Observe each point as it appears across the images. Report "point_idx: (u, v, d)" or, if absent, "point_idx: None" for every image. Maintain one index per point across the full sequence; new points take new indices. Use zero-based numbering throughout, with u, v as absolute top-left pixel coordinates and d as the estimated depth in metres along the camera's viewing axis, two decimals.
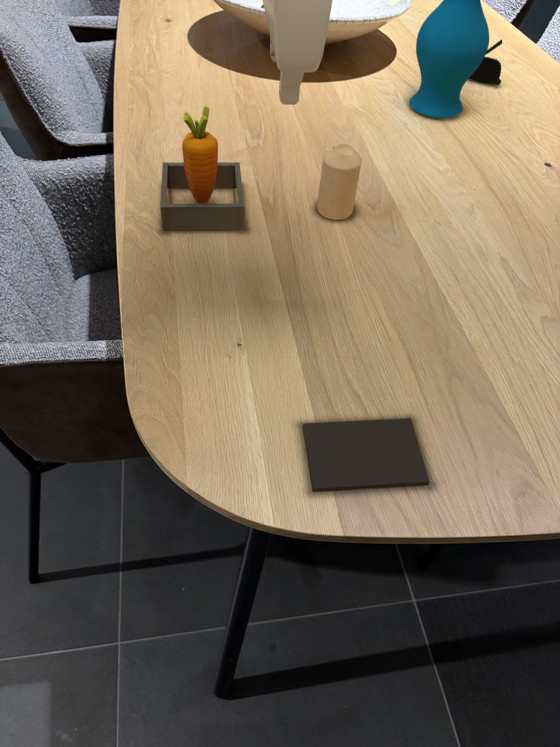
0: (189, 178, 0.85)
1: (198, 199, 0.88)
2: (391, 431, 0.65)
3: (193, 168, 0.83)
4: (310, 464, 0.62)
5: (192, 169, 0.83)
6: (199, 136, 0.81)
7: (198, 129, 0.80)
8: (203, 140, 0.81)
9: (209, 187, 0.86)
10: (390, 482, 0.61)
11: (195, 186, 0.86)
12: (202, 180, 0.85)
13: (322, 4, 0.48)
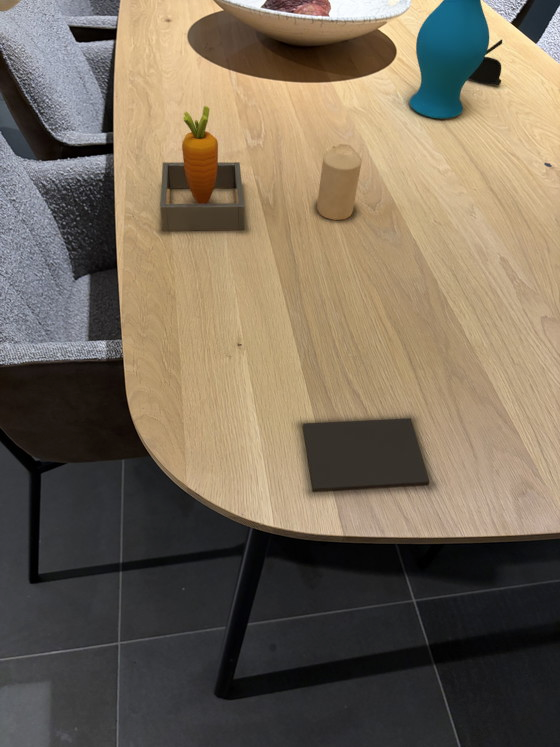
0: (189, 178, 0.85)
1: (198, 199, 0.88)
2: (391, 431, 0.65)
3: (193, 168, 0.83)
4: (310, 464, 0.62)
5: (192, 169, 0.83)
6: (199, 136, 0.81)
7: (198, 129, 0.80)
8: (203, 140, 0.81)
9: (209, 187, 0.86)
10: (390, 482, 0.61)
11: (195, 186, 0.86)
12: (202, 180, 0.85)
13: None
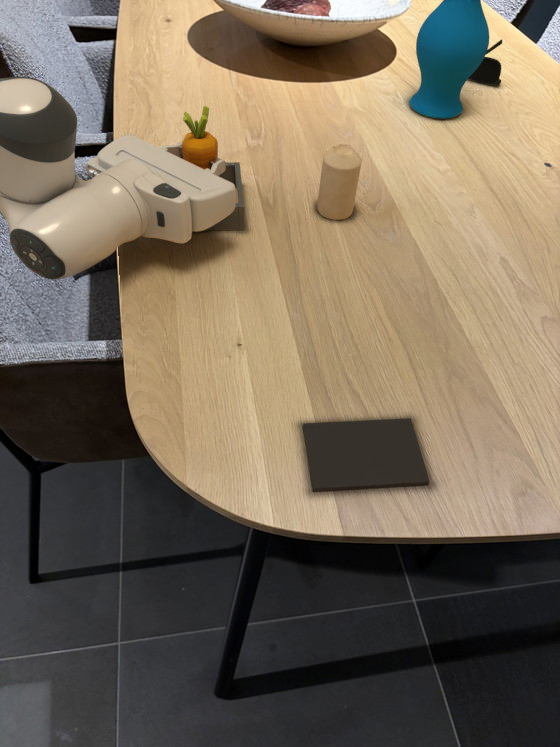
0: None
1: None
2: (391, 431, 0.65)
3: None
4: (310, 464, 0.62)
5: None
6: (199, 136, 0.81)
7: (198, 129, 0.80)
8: (203, 140, 0.81)
9: None
10: (390, 482, 0.61)
11: None
12: None
13: (209, 203, 0.75)
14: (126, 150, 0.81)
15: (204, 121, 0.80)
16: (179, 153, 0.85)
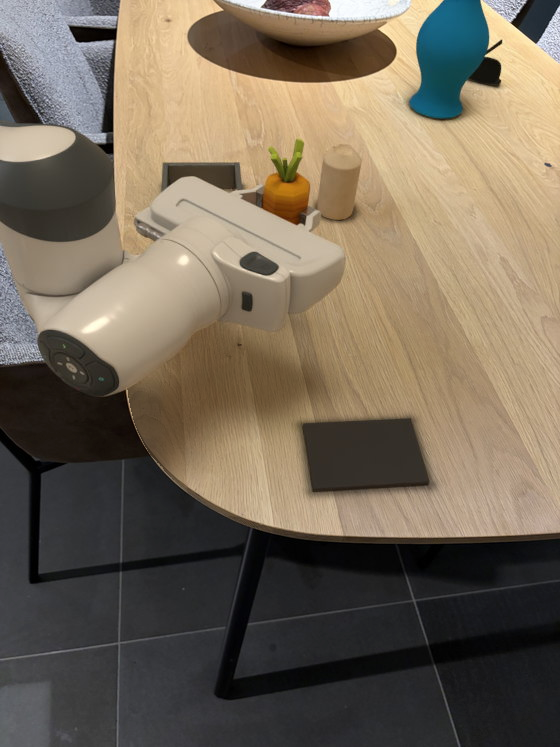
0: None
1: None
2: (391, 431, 0.65)
3: None
4: (310, 464, 0.62)
5: None
6: (288, 180, 0.60)
7: (288, 170, 0.59)
8: (293, 184, 0.60)
9: None
10: (390, 482, 0.61)
11: None
12: None
13: (314, 278, 0.53)
14: (188, 199, 0.59)
15: (298, 160, 0.58)
16: (255, 200, 0.64)
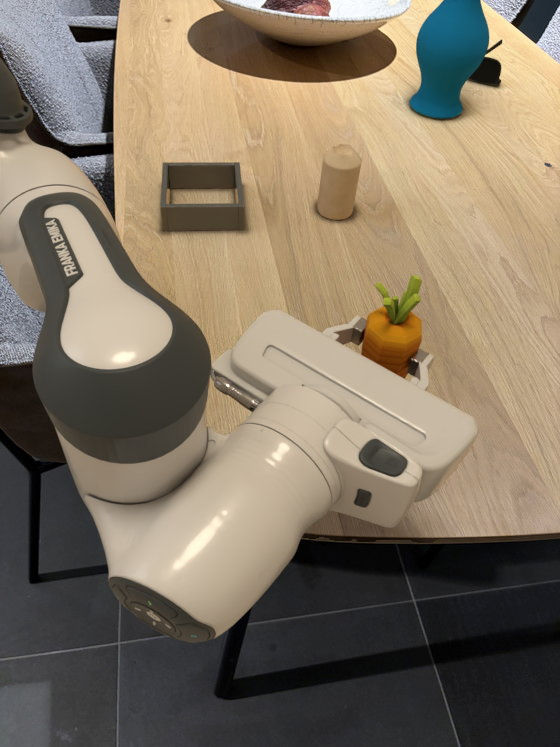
0: None
1: None
2: None
3: None
4: None
5: None
6: (399, 321, 0.49)
7: (401, 313, 0.48)
8: (405, 328, 0.49)
9: None
10: None
11: None
12: None
13: (447, 468, 0.42)
14: (277, 346, 0.49)
15: (416, 303, 0.47)
16: (351, 336, 0.53)
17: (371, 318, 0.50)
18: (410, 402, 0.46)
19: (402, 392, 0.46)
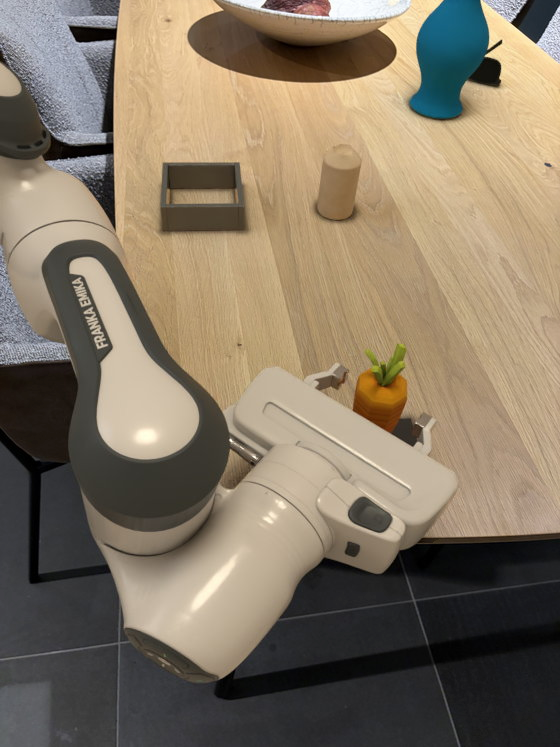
0: None
1: None
2: None
3: None
4: None
5: None
6: (386, 384, 0.54)
7: (388, 377, 0.53)
8: (392, 389, 0.54)
9: None
10: None
11: None
12: None
13: (429, 521, 0.47)
14: (276, 403, 0.53)
15: (401, 370, 0.52)
16: (331, 381, 0.58)
17: (361, 379, 0.55)
18: (397, 458, 0.50)
19: (389, 448, 0.51)
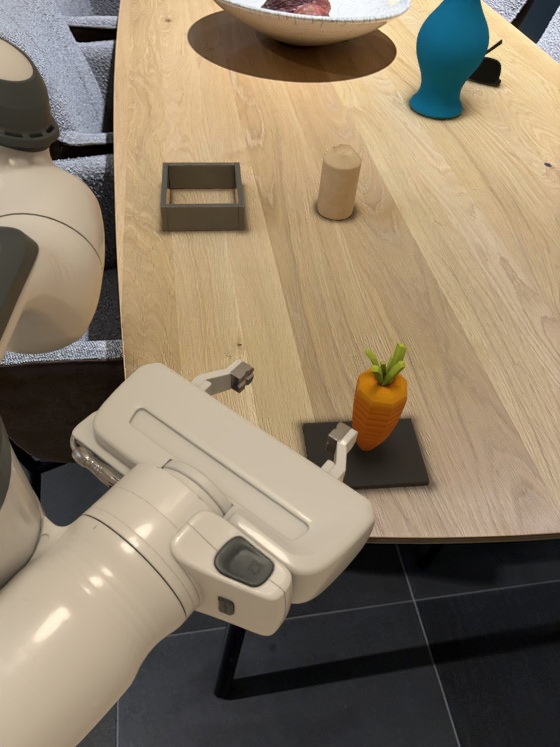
0: (358, 428, 0.58)
1: (364, 447, 0.61)
2: None
3: (371, 422, 0.56)
4: None
5: (369, 423, 0.56)
6: (386, 383, 0.54)
7: (388, 377, 0.53)
8: (392, 389, 0.54)
9: (385, 436, 0.59)
10: (390, 482, 0.61)
11: (366, 438, 0.58)
12: (379, 434, 0.57)
13: (329, 569, 0.35)
14: (149, 409, 0.41)
15: (401, 369, 0.52)
16: (230, 382, 0.46)
17: (361, 379, 0.55)
18: (296, 482, 0.38)
19: (288, 469, 0.39)
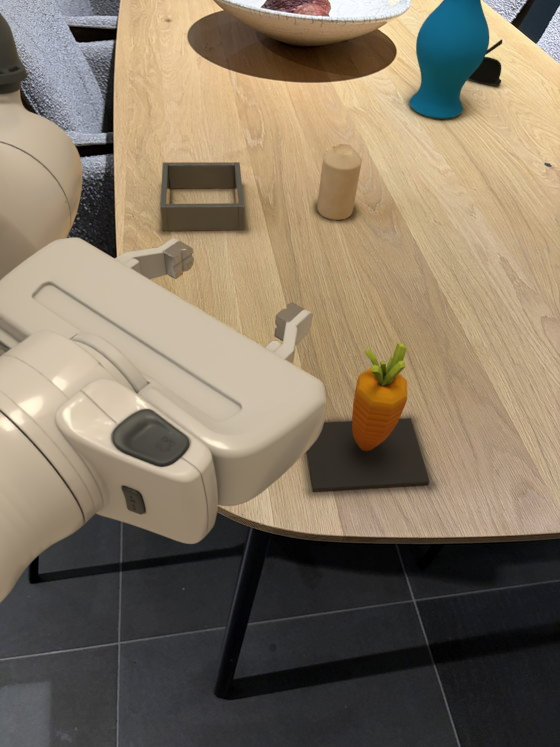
0: (358, 428, 0.58)
1: (364, 447, 0.61)
2: None
3: (371, 422, 0.56)
4: (310, 464, 0.62)
5: (369, 423, 0.56)
6: (386, 383, 0.54)
7: (388, 377, 0.53)
8: (392, 389, 0.54)
9: (385, 436, 0.59)
10: (390, 482, 0.61)
11: (366, 438, 0.58)
12: (379, 434, 0.57)
13: (265, 454, 0.28)
14: (57, 283, 0.34)
15: (401, 369, 0.52)
16: (165, 265, 0.39)
17: (361, 379, 0.55)
18: (230, 359, 0.31)
19: (222, 345, 0.32)
